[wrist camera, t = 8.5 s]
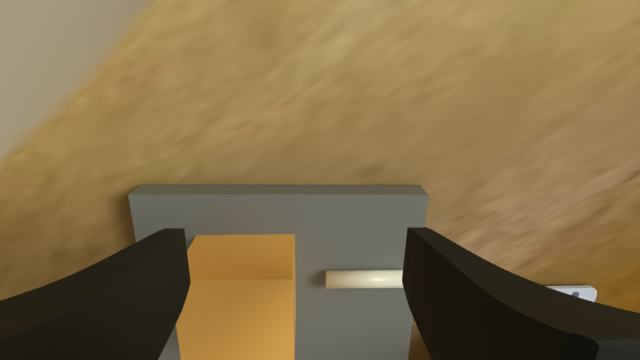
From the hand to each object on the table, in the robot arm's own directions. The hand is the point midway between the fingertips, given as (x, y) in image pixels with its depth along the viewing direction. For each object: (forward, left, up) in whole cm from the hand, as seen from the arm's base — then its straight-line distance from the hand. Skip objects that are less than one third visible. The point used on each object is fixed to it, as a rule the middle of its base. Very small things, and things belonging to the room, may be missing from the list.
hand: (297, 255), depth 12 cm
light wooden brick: (+3, +6, -8) cm, 10 cm away
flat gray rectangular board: (+1, +7, -9) cm, 12 cm away
